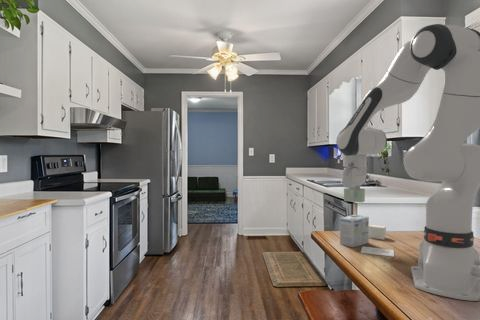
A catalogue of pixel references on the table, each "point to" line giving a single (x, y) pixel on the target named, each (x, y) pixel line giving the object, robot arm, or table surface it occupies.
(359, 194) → the brick
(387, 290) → the table surface
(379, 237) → the brick
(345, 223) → the light bulb box
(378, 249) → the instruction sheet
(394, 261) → the table surface
